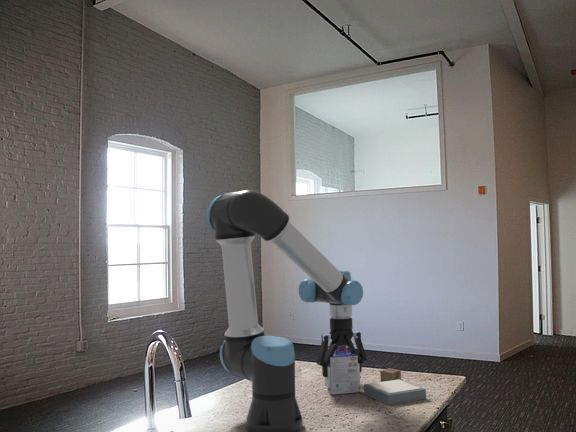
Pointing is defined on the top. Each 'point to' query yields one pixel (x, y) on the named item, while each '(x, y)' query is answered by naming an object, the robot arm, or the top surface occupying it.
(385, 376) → the walnut block
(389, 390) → the plinth
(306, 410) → the top surface
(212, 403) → the top surface
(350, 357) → the ink cartridge box
